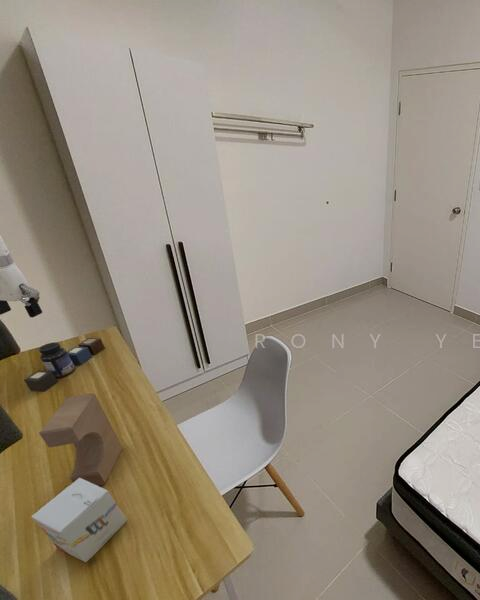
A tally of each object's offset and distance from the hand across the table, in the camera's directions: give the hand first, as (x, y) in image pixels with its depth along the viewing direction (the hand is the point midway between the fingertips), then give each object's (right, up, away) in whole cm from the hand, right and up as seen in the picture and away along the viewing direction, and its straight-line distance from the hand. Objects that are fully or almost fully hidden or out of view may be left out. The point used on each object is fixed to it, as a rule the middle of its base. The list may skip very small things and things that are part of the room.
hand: (20, 313), depth 100 cm
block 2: (+2, -18, +17) cm, 25 cm away
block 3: (+2, -15, +22) cm, 27 cm away
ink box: (+51, -46, -30) cm, 75 cm away
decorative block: (+41, -38, -17) cm, 59 cm away
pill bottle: (+1, -21, +12) cm, 24 cm away
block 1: (+1, -24, +6) cm, 24 cm away
